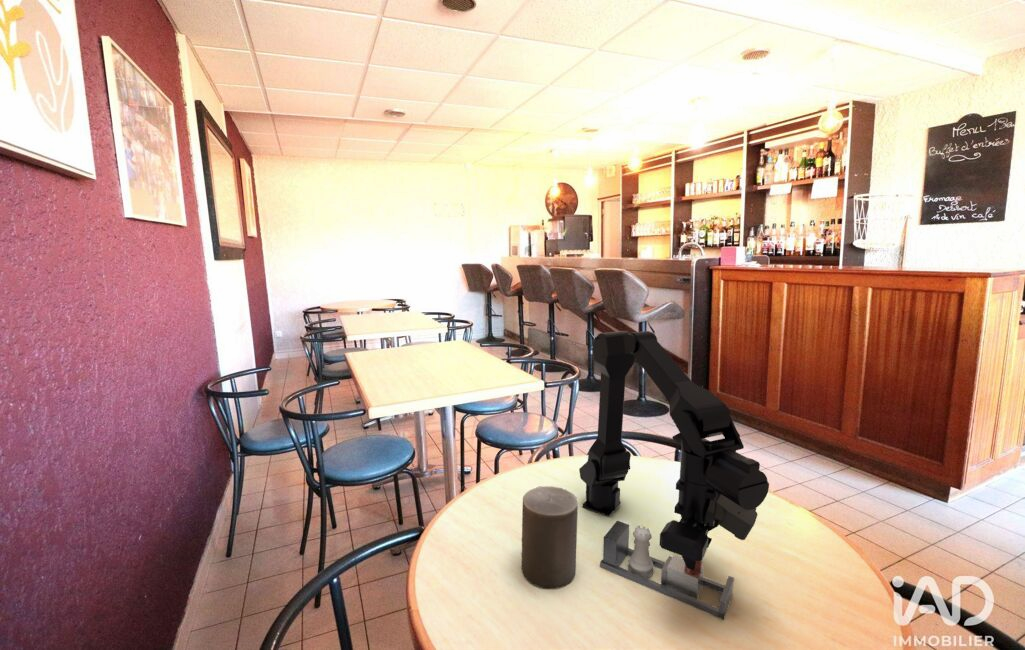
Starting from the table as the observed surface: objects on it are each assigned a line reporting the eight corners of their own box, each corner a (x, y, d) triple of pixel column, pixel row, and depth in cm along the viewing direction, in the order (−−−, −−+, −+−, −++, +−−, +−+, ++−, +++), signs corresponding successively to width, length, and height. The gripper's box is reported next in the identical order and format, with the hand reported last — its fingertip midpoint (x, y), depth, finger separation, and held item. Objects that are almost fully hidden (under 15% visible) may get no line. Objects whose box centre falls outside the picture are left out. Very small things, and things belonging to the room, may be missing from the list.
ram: (660, 586, 79) (663, 535, 78) (668, 573, 83) (671, 523, 81) (696, 601, 76) (700, 548, 74) (702, 586, 79) (706, 535, 78)
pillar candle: (539, 597, 78) (540, 514, 75) (512, 561, 86) (512, 486, 83) (587, 578, 82) (590, 499, 79) (556, 545, 91) (558, 474, 88)
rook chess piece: (624, 562, 86) (625, 523, 84) (648, 561, 86) (650, 521, 84) (632, 580, 81) (634, 538, 80) (657, 578, 82) (659, 537, 80)
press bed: (600, 567, 85) (600, 537, 83) (614, 547, 90) (615, 519, 89) (723, 619, 73) (726, 585, 72) (732, 593, 78) (735, 561, 77)
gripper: (743, 522, 63) (734, 623, 66) (764, 466, 78) (756, 551, 80) (660, 496, 69) (655, 590, 72) (694, 450, 84) (689, 528, 87)
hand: (693, 563), depth 78 cm, fingers closed on ram, 3 cm apart
